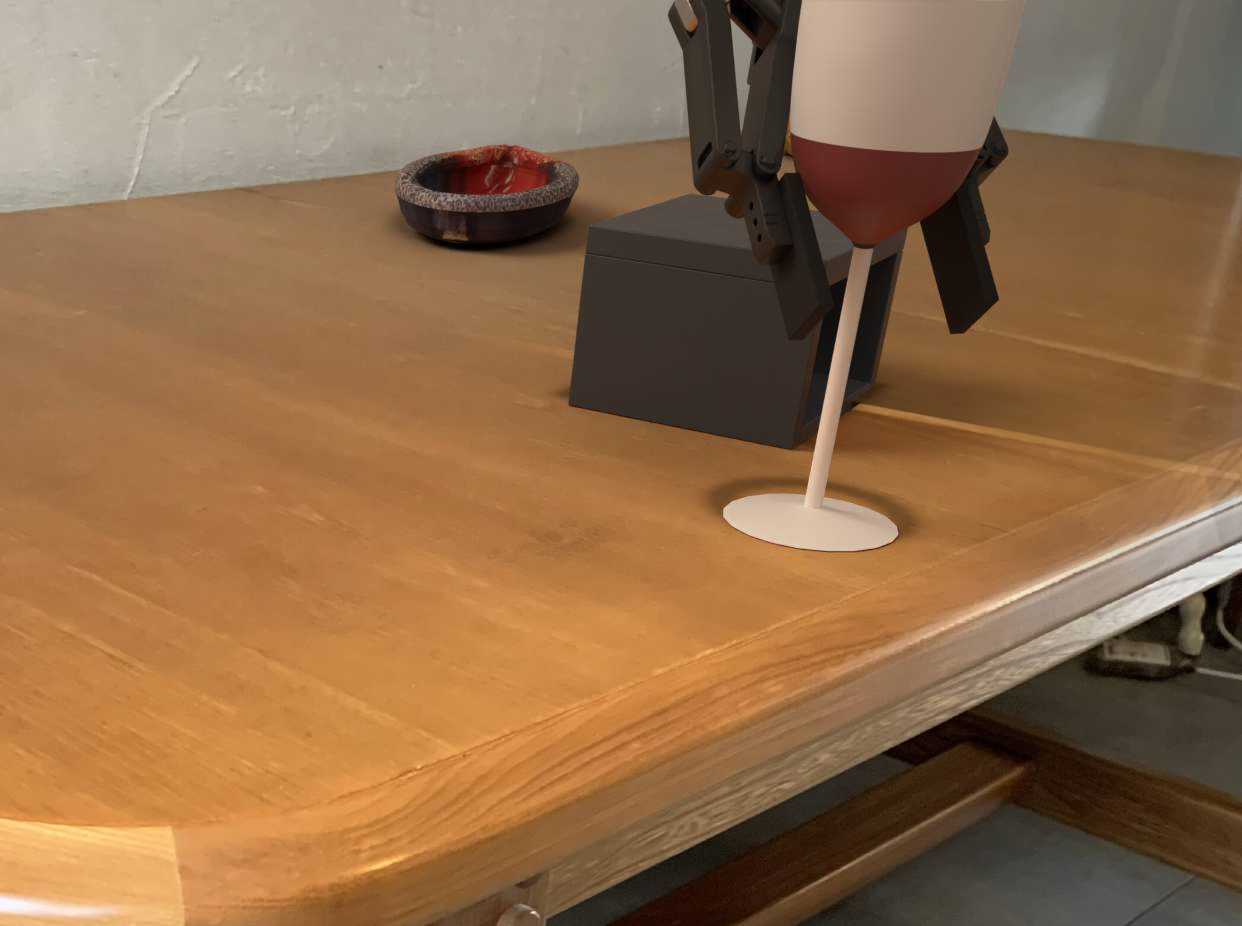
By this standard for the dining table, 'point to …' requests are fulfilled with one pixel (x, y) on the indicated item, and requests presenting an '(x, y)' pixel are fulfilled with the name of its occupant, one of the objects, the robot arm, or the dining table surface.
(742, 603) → the dining table surface
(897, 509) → the dining table surface
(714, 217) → the shelf
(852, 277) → the wineglass
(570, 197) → the dish
